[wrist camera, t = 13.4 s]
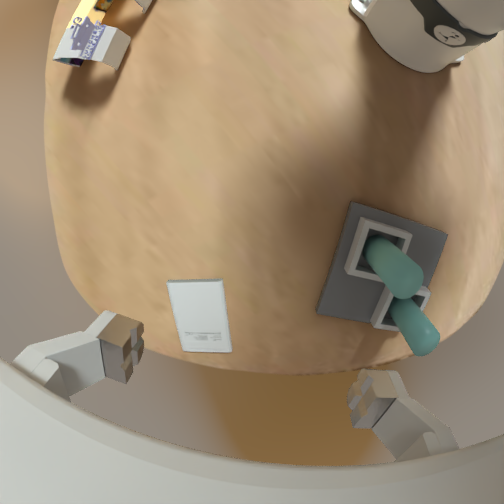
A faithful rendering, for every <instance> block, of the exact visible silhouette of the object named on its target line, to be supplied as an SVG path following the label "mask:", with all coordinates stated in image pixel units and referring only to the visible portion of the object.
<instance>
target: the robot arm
mask: <svg viewBox="0 0 504 504" xmlns="http://www.w3.org/2000/svg"><path fill="white" fill-rule="evenodd" d="M359 1H361V2H363V3H361V2H359ZM349 7H350V9H351V10H352V11H353V12H354V13H355V14H356V15H357V16H358V17H359V18H360V19H362V20H363V21H364V22H365V24H366V25H367V27H368V29H369V30H370V32H371V34H372V36H373V37H374V39H375V40H376V41H377V43H378V44H379V45H380V46H381V47H382V48H383V49H384V50H385V51H386V52H387V53H388V54H389V55H390V56H391V57H393V58H394V59H395V60H397V61H398V62H400V63H401V64H403V65H405V66H407V67H409V68H411V69H413V70H416V71H420V72H425V73H433V72H438V71H440V70H442V69H443V68H444V67H446V66H447V65H448V64H450V63H459V62H461V61H463V60H464V55H465V54H467V53H468V52H470V51H471V50H473V49H475V48H476V47H478V46H479V45H481V43H483V42H484V43H486V42H488V41H490V40H491V39H492V38H494V37H495V36H496V35H497V34H498V32H499V31H502V30H504V0H351V2H350V4H349ZM143 332H144V324H143V323H142V322H140V321H137V320H134V319H131V318H128V317H126V316H123V315H120V314H117V313H114V312H112V311H109V310H105V311H104V312H103V313H102V314H101V315H100V316H99V317H98V318H97V319H96V320H95V321H94V322H93V323H92V324H91V325H90V326H89V327H88V328H87V330H86V331H85V332H81V331H79V332H76V333H72V334H69V335H65V336H62V337H58V338H54V339H51V340H47V341H43V342H40V343H36V344H32V345H29V346H28V347H26V348H25V349H24V351H22V353H20V354H19V356H17V357H16V358H15V359H14V360H13V362H12V363H11V364H9V363H8V362H6V361H5V360H4V359H2V358H1V357H0V504H504V434H503V435H500V436H498V437H495V438H492V439H489V440H486V441H484V442H481V443H478V444H475V445H471V446H468V447H465V448H461V449H459V447H458V444H457V442H456V440H455V438H454V435H453V433H452V431H451V429H450V427H448V426H447V425H446V424H444V423H443V422H442V421H440V420H439V419H438V418H437V417H436V416H434V415H433V414H432V413H431V412H429V411H428V410H427V409H425V408H424V407H423V406H422V405H421V404H419V403H418V402H417V401H416V400H414V399H413V398H410V397H409V395H408V393H407V391H406V388H405V386H404V384H403V382H402V380H401V378H400V376H399V374H398V372H397V371H395V370H375V369H374V370H373V369H362V370H361V371H360V372H359V374H358V375H357V378H358V380H357V381H356V382H355V383H353V384H352V385H351V387H350V388H349V391H348V395H347V403H348V406H349V408H350V409H351V410H352V413H351V414H350V417H351V421H352V426H353V428H372V430H373V432H374V433H375V434H376V435H377V436H378V438H379V439H380V440H381V441H382V442H383V444H384V445H385V446H386V447H387V448H388V450H389V451H390V452H391V453H392V455H393V456H394V457H395V458H396V461H394V462H390V463H381V464H369V465H354V466H303V465H287V464H275V463H265V462H258V461H250V460H244V459H238V458H232V457H227V456H221V455H216V454H211V453H207V452H202V451H198V450H195V449H190V448H187V447H183V446H180V445H176V444H173V443H169V442H166V441H163V440H160V439H156V438H153V437H150V436H148V435H144V434H141V433H139V432H136V431H133V430H131V429H128V428H126V427H123V426H121V425H118V424H116V423H114V422H111V421H109V420H107V419H104V418H102V417H100V416H97V415H95V414H93V413H91V412H89V411H87V410H85V409H83V408H81V407H79V406H77V405H75V404H73V403H71V401H70V398H69V396H71V395H73V394H75V393H77V392H79V391H81V390H83V389H85V388H87V387H89V386H91V385H92V384H94V383H96V382H98V381H100V380H102V379H104V378H105V376H106V377H108V378H111V379H114V380H116V381H119V382H122V383H124V384H126V383H127V382H128V380H129V378H130V377H131V375H132V373H133V366H135V365H137V364H138V363H139V361H140V359H141V357H142V353H143V349H144V340H143V339H142V337H141V335H142V334H143Z"/></svg>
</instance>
